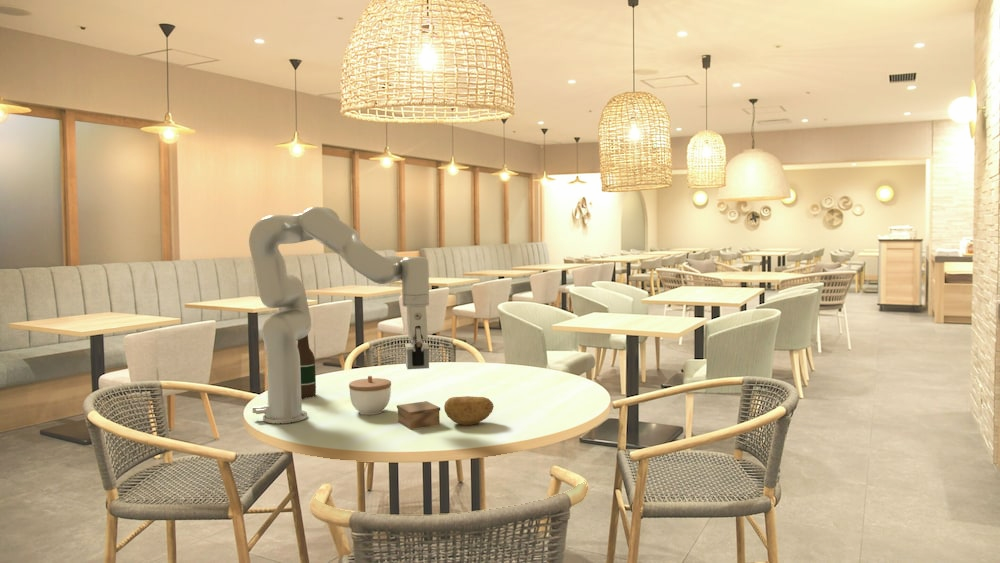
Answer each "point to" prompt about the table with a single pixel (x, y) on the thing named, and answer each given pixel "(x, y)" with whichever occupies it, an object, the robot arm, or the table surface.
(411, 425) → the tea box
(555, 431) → the table surface
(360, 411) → the lidded bowl
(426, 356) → the beige cube
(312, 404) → the table surface
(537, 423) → the table surface
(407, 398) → the table surface
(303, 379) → the beer bottle
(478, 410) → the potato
